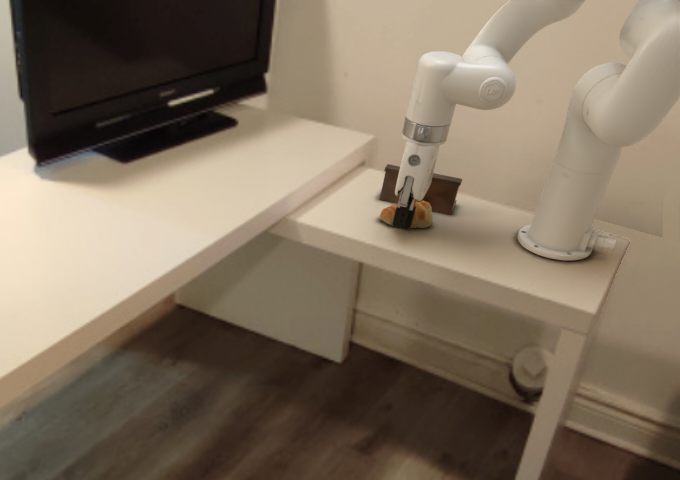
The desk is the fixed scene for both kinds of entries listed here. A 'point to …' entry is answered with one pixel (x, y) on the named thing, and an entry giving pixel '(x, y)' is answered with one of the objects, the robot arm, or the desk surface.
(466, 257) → the desk surface
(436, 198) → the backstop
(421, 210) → the pastry
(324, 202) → the desk surface
